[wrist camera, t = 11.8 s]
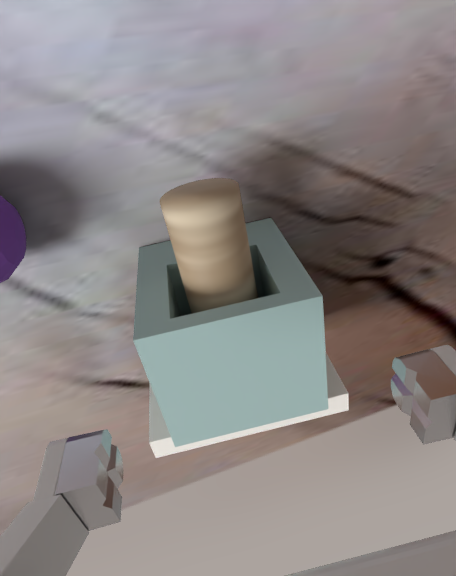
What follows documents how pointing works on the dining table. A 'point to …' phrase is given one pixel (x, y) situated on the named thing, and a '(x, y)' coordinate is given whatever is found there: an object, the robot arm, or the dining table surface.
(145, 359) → the block
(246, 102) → the dining table surface
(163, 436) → the slab
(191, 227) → the dowel
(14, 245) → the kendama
